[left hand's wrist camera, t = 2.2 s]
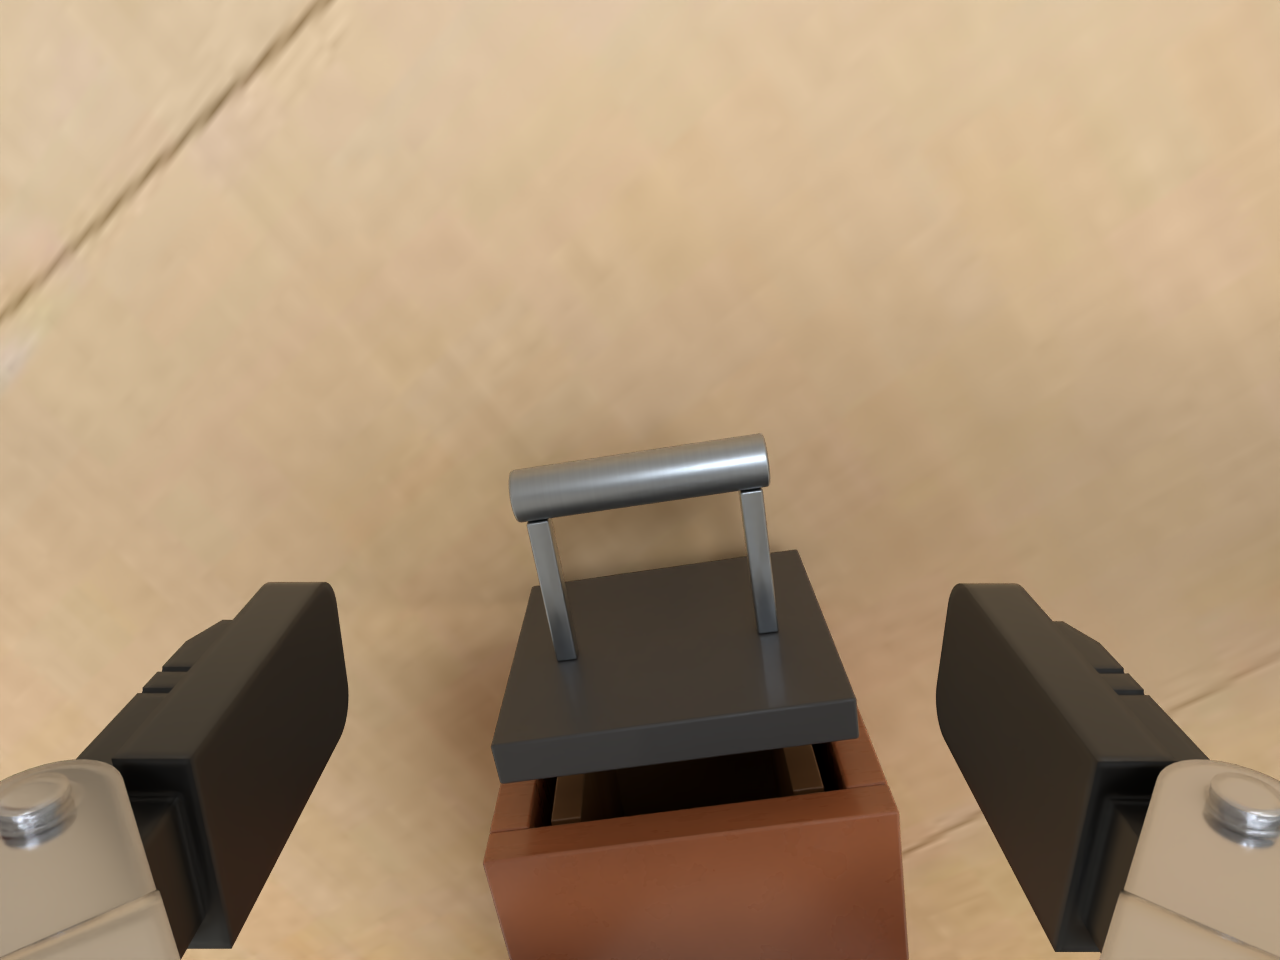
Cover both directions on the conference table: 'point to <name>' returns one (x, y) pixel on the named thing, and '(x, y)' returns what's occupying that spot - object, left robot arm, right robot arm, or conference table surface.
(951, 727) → the left robot arm
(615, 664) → the drawer
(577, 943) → the cabinet
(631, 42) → the conference table surface
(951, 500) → the conference table surface
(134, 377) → the conference table surface
